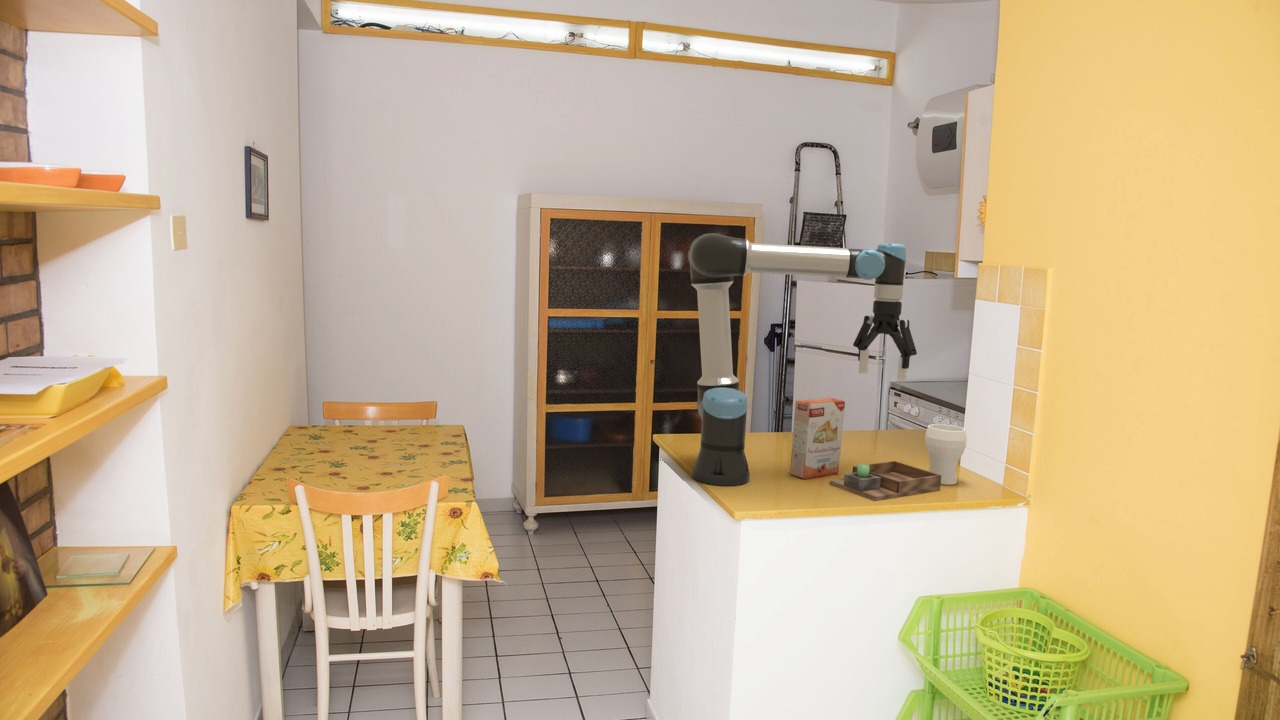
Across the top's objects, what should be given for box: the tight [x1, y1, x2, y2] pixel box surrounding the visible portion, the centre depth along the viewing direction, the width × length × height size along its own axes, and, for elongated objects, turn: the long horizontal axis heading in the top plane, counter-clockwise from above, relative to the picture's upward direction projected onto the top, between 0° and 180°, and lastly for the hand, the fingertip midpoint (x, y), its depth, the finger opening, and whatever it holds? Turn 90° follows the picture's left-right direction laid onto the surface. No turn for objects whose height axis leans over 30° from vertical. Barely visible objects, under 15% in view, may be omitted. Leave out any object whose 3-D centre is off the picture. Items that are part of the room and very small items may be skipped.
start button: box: [856, 463, 869, 478], centre depth 219 cm, size 3×3×4 cm
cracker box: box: [789, 397, 846, 480], centre depth 232 cm, size 14×6×21 cm, turn 125°
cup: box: [924, 423, 968, 486], centre depth 231 cm, size 11×11×15 cm
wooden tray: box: [829, 460, 942, 502], centre depth 224 cm, size 24×16×4 cm, turn 121°
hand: (881, 376), depth 235 cm, fingers open, 13 cm apart
